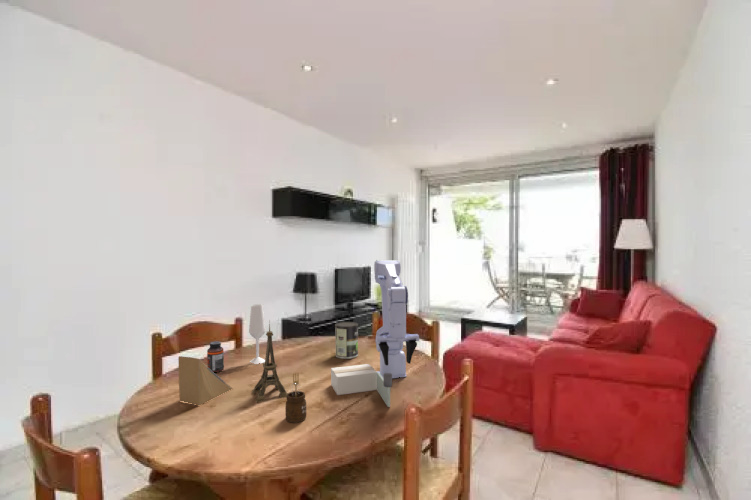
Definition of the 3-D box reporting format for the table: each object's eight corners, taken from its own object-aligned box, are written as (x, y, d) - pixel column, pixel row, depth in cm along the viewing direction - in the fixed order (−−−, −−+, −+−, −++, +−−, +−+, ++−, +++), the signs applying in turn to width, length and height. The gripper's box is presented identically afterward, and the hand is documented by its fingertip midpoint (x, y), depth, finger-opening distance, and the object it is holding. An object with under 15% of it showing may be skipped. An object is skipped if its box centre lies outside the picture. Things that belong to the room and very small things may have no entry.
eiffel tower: (256, 402, 121) (255, 324, 121) (251, 390, 131) (251, 318, 130) (289, 396, 126) (288, 321, 125) (282, 385, 135) (282, 315, 135)
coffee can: (358, 352, 176) (358, 321, 176) (357, 359, 166) (357, 326, 165) (336, 352, 176) (336, 321, 176) (333, 358, 166) (333, 326, 165)
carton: (368, 380, 140) (368, 363, 140) (377, 389, 131) (377, 371, 131) (331, 384, 136) (330, 367, 136) (337, 395, 127) (337, 376, 127)
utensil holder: (285, 424, 107) (284, 381, 107) (285, 414, 113) (285, 373, 113) (306, 422, 108) (306, 380, 108) (306, 412, 114) (306, 372, 114)
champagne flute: (260, 358, 167) (260, 303, 167) (268, 361, 163) (268, 305, 162) (246, 361, 162) (245, 305, 162) (254, 365, 158) (253, 307, 157)
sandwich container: (234, 388, 133) (233, 346, 132) (199, 406, 118) (199, 358, 118) (214, 385, 136) (214, 343, 135) (178, 402, 121) (178, 356, 121)
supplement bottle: (205, 370, 151) (205, 342, 151) (221, 367, 155) (221, 339, 155) (209, 374, 147) (209, 345, 146) (225, 371, 150) (225, 342, 150)
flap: (374, 390, 130) (374, 362, 130) (381, 389, 131) (381, 362, 130) (384, 407, 117) (384, 376, 117) (393, 406, 117) (393, 375, 117)
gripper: (379, 326, 121) (379, 369, 121) (422, 324, 124) (422, 365, 125) (373, 322, 128) (374, 362, 128) (415, 319, 131) (415, 359, 132)
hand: (397, 363), depth 127 cm, fingers open, 7 cm apart
